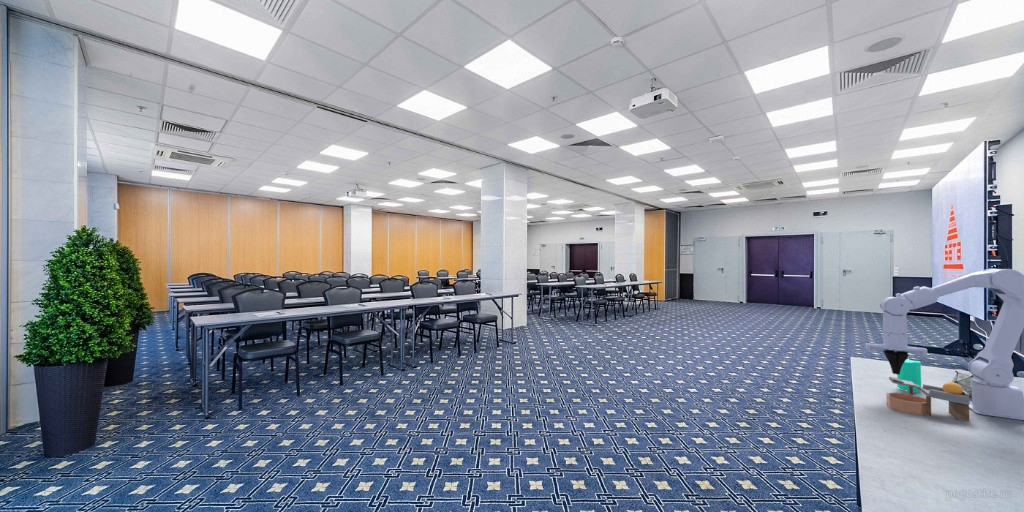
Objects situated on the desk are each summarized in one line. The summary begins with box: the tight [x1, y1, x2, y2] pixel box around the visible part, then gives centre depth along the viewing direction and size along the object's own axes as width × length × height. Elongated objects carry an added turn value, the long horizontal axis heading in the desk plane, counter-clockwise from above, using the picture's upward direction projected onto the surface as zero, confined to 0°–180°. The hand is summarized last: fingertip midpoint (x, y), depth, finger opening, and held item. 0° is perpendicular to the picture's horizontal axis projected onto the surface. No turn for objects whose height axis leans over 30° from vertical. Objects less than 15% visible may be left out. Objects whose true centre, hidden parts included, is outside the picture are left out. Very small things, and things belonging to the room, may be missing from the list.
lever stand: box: [908, 381, 970, 421], centre depth 118 cm, size 9×17×6 cm, turn 146°
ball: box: [942, 381, 963, 395], centre depth 114 cm, size 4×4×4 cm
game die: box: [951, 370, 973, 396], centre depth 130 cm, size 9×8×10 cm
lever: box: [888, 376, 971, 405], centre depth 120 cm, size 14×15×3 cm
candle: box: [896, 355, 922, 393], centre depth 137 cm, size 6×6×12 cm
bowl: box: [885, 392, 927, 416], centre depth 119 cm, size 9×9×4 cm
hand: (895, 373), depth 127 cm, fingers closed
